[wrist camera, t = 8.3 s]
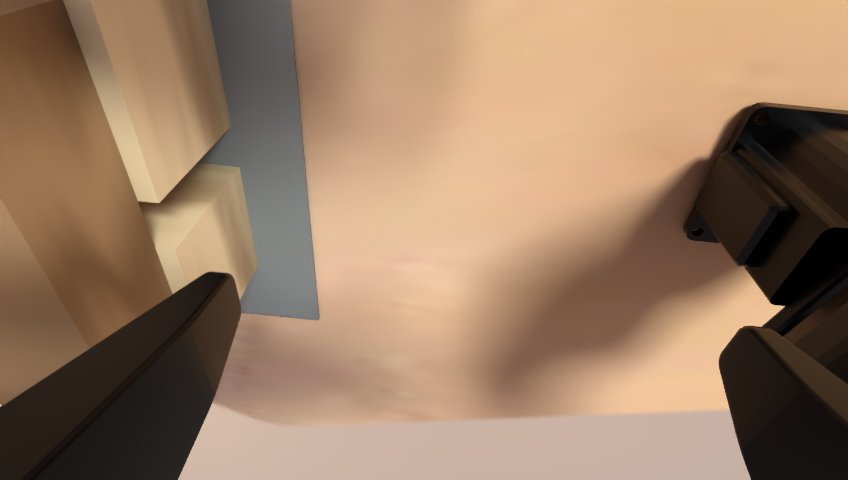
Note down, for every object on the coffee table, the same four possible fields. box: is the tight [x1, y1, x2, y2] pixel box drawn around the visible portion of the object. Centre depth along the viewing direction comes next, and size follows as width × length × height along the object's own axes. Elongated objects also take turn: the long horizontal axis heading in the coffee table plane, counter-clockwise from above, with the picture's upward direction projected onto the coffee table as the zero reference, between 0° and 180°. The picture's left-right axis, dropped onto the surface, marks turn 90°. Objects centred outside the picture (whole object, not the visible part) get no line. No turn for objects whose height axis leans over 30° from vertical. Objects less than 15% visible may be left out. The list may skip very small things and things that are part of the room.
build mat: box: [197, 0, 319, 320], centre depth 20 cm, size 12×22×1 cm, turn 175°
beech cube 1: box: [63, 0, 231, 203], centre depth 16 cm, size 6×6×6 cm
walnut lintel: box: [0, 0, 172, 406], centre depth 14 cm, size 14×4×4 cm, turn 175°
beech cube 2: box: [138, 163, 258, 299], centre depth 20 cm, size 6×6×6 cm
